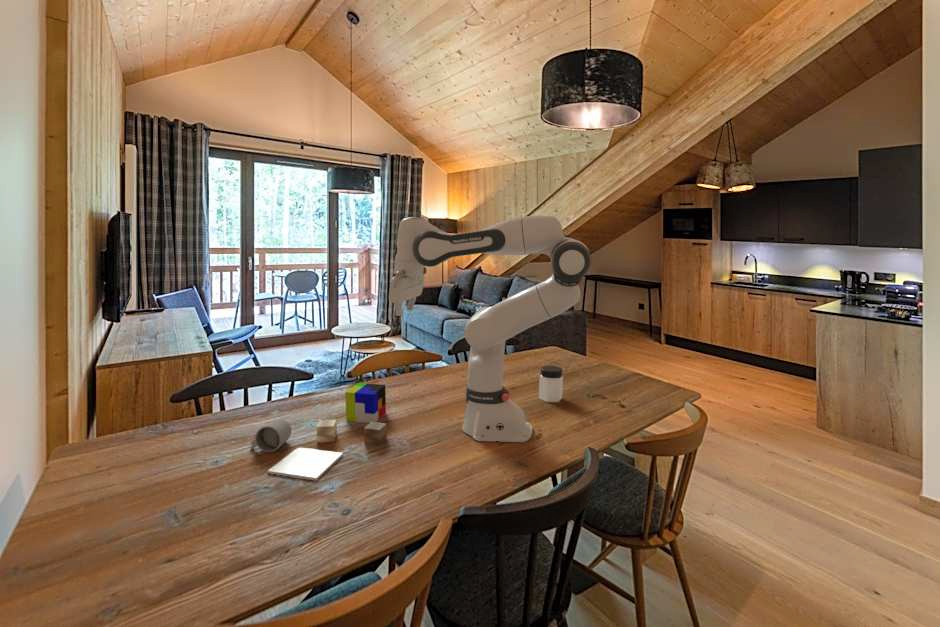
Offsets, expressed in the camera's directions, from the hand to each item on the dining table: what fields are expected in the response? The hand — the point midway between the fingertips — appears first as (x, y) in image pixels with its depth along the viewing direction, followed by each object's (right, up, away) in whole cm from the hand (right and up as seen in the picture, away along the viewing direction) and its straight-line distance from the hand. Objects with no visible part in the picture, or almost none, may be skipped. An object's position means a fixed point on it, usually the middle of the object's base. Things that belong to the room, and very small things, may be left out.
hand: (404, 312), depth 150 cm
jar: (+51, -33, +32) cm, 69 cm away
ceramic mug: (-38, -39, -11) cm, 56 cm away
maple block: (-23, -38, -5) cm, 45 cm away
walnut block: (-8, -39, -7) cm, 40 cm away
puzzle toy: (-15, -36, +12) cm, 40 cm away
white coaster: (-23, -41, -21) cm, 52 cm away
